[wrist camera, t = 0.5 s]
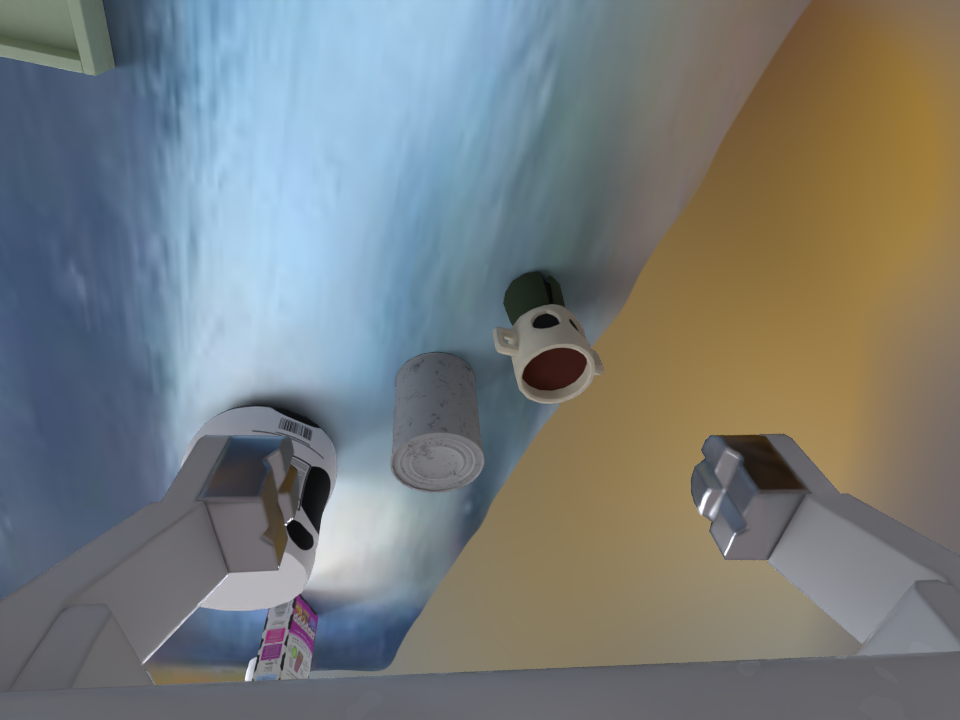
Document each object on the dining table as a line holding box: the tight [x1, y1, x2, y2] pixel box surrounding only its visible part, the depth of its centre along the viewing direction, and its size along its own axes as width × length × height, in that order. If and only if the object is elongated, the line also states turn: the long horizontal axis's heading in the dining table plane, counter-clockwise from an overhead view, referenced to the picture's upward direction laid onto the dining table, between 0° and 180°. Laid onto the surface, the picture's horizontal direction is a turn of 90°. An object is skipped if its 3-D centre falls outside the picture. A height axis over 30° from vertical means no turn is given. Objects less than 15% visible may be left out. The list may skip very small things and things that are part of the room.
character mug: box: [493, 272, 603, 404], centre depth 49 cm, size 11×7×13 cm, turn 70°
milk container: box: [181, 405, 337, 611], centre depth 58 cm, size 17×17×18 cm
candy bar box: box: [252, 594, 318, 681], centre depth 87 cm, size 11×5×16 cm, turn 8°
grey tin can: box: [391, 352, 485, 492], centre depth 57 cm, size 10×10×12 cm
